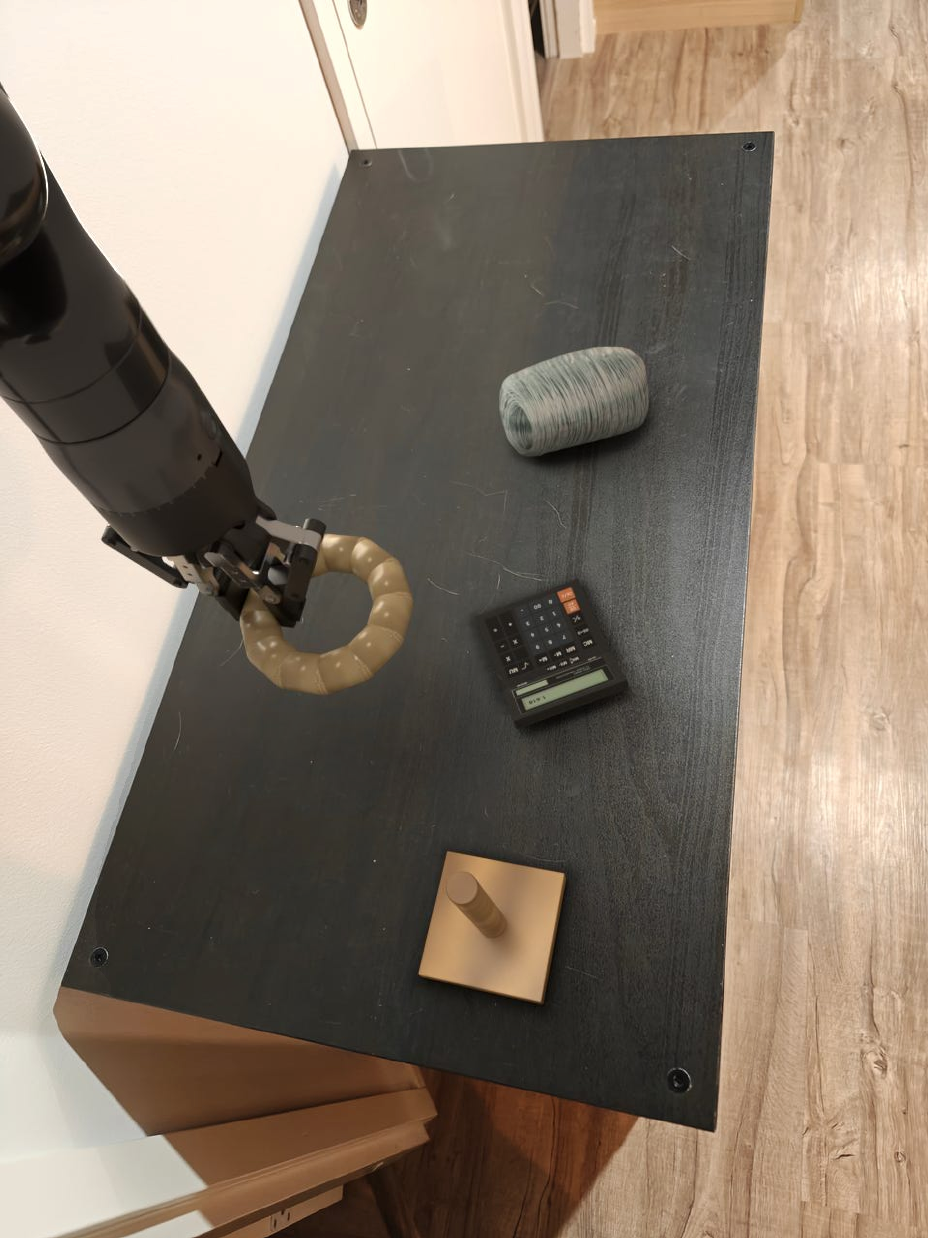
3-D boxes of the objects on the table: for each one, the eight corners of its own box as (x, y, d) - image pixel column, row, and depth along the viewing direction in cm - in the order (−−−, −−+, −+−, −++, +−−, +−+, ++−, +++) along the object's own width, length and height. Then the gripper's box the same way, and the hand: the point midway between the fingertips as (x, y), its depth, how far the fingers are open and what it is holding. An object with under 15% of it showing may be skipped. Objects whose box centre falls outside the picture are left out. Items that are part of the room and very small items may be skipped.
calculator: (578, 583, 82) (576, 565, 79) (630, 699, 76) (629, 684, 73) (476, 621, 82) (470, 604, 79) (520, 739, 76) (515, 726, 73)
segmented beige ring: (227, 687, 59) (212, 671, 57) (279, 540, 64) (266, 520, 61) (390, 710, 56) (380, 694, 54) (432, 555, 61) (424, 535, 59)
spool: (502, 475, 84) (508, 365, 79) (491, 434, 92) (496, 331, 87) (652, 474, 85) (669, 366, 80) (628, 433, 93) (642, 332, 88)
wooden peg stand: (422, 977, 69) (373, 947, 57) (450, 855, 73) (410, 804, 61) (543, 1005, 66) (518, 980, 55) (566, 878, 70) (547, 829, 59)
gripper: (-10, 498, 46) (155, 652, 61) (250, 521, 42) (357, 678, 57) (51, 378, 49) (194, 552, 64) (298, 390, 45) (387, 572, 61)
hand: (271, 611), depth 61 cm, fingers closed on segmented beige ring, 2 cm apart
